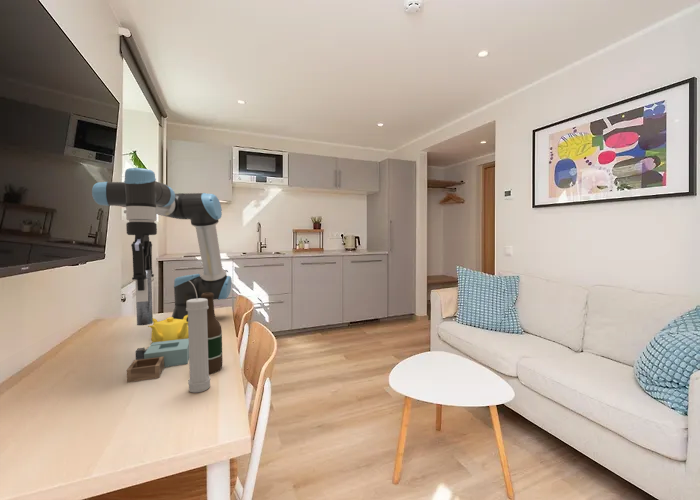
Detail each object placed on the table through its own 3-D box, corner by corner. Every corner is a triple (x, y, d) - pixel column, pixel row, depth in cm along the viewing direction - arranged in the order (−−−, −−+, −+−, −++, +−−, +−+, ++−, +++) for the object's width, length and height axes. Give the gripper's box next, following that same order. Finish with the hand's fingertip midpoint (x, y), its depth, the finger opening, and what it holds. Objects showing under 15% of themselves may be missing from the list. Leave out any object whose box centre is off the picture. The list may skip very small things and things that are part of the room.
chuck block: (152, 356, 110) (152, 342, 110) (191, 351, 114) (190, 338, 114) (144, 369, 99) (143, 354, 98) (187, 363, 103) (186, 348, 103)
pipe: (214, 384, 88) (211, 277, 87) (202, 395, 82) (198, 280, 81) (196, 383, 89) (192, 277, 88) (181, 394, 82) (178, 280, 81)
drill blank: (138, 322, 96) (137, 270, 95) (154, 321, 97) (152, 269, 96) (135, 326, 92) (133, 271, 91) (151, 324, 93) (149, 270, 93)
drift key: (138, 358, 108) (137, 348, 108) (171, 354, 111) (170, 344, 111) (135, 361, 105) (135, 350, 105) (169, 356, 109) (169, 346, 109)
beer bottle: (197, 377, 93) (195, 296, 92) (193, 368, 99) (191, 292, 98) (225, 371, 97) (223, 293, 96) (220, 362, 103) (218, 290, 103)
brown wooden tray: (134, 371, 97) (134, 360, 97) (164, 367, 100) (163, 356, 100) (126, 382, 90) (126, 370, 90) (159, 377, 93) (158, 365, 92)
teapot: (151, 339, 130) (150, 315, 129) (189, 334, 136) (189, 312, 136) (147, 350, 117) (147, 324, 116) (190, 343, 123) (189, 319, 123)
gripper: (134, 223, 100) (137, 296, 101) (117, 219, 84) (120, 306, 85) (161, 223, 103) (163, 294, 103) (149, 220, 87) (152, 304, 88)
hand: (144, 299), depth 94 cm, fingers closed on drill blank, 4 cm apart
